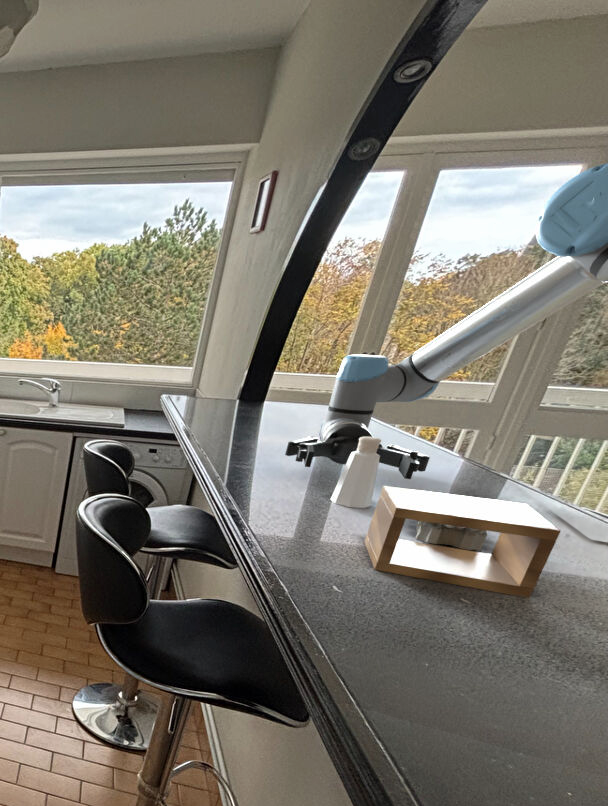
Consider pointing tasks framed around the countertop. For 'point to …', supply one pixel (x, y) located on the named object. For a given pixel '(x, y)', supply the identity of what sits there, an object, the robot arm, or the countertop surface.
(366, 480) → the pepper shaker
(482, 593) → the countertop surface
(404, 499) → the frame
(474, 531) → the grey bumpy bar
